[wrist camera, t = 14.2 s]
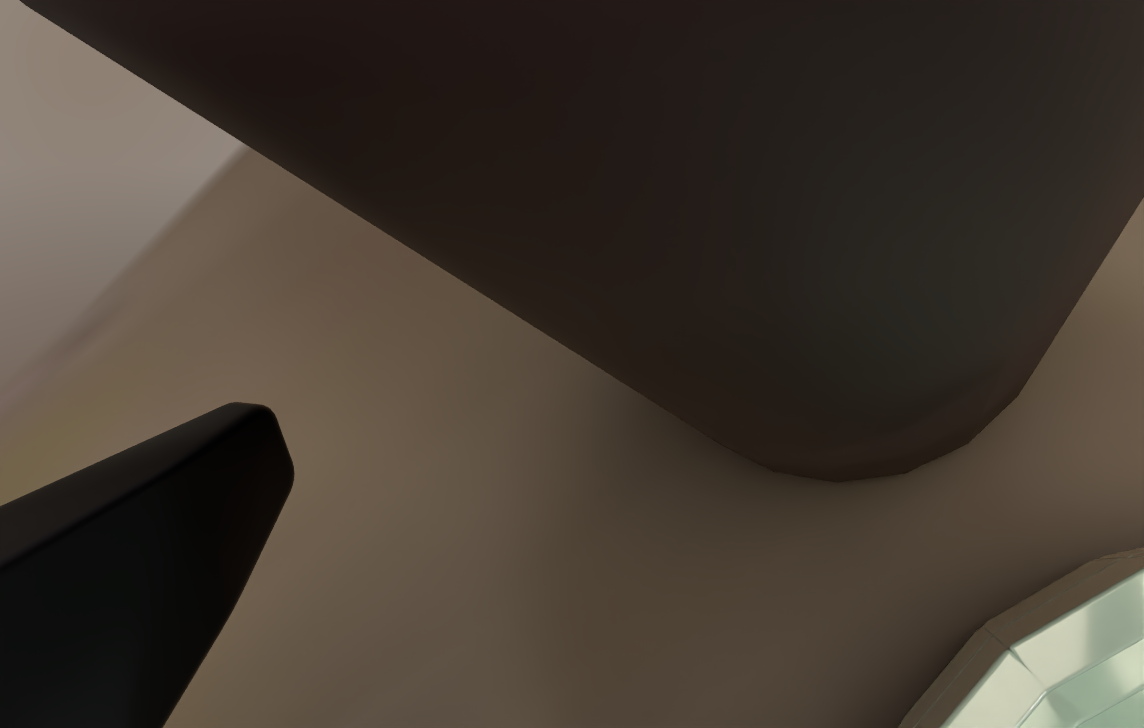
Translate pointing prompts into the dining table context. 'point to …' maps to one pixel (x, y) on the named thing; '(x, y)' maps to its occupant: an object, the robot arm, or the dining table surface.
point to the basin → (1052, 658)
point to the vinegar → (710, 182)
